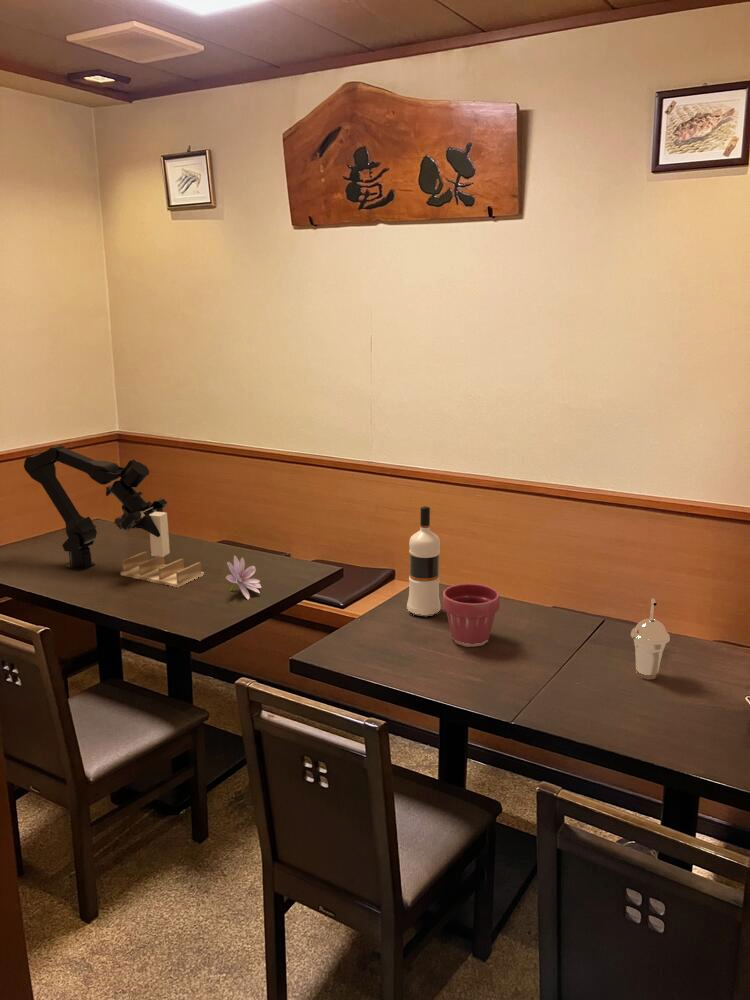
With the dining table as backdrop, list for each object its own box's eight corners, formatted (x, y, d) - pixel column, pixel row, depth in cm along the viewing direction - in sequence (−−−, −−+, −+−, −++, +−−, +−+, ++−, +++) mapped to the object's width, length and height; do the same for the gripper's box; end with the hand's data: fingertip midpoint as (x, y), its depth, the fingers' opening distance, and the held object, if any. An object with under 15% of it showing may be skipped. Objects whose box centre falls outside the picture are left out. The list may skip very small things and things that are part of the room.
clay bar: (151, 555, 246) (148, 515, 243) (158, 551, 250) (155, 511, 247) (163, 556, 245) (159, 516, 242) (169, 552, 249) (166, 512, 246)
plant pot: (432, 633, 208) (433, 586, 204) (481, 625, 212) (482, 579, 209) (457, 656, 195) (458, 607, 191) (508, 647, 199) (510, 599, 196)
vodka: (412, 620, 216) (413, 512, 208) (402, 607, 224) (403, 503, 217) (445, 616, 218) (447, 510, 210) (434, 604, 227) (436, 501, 219)
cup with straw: (672, 674, 185) (680, 593, 180) (655, 689, 179) (663, 605, 173) (636, 663, 191) (643, 584, 185) (619, 677, 184) (626, 595, 179)
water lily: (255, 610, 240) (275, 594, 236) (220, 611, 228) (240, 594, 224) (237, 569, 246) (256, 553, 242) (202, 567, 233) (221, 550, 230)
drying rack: (120, 575, 250) (119, 561, 249) (148, 563, 260) (147, 550, 259) (177, 587, 239) (176, 573, 238) (203, 575, 249) (203, 561, 248)
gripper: (131, 505, 257) (164, 541, 257) (95, 521, 240) (131, 559, 240) (151, 483, 253) (184, 519, 253) (116, 497, 236) (152, 536, 236)
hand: (163, 534), depth 246 cm, fingers closed on clay bar, 4 cm apart
